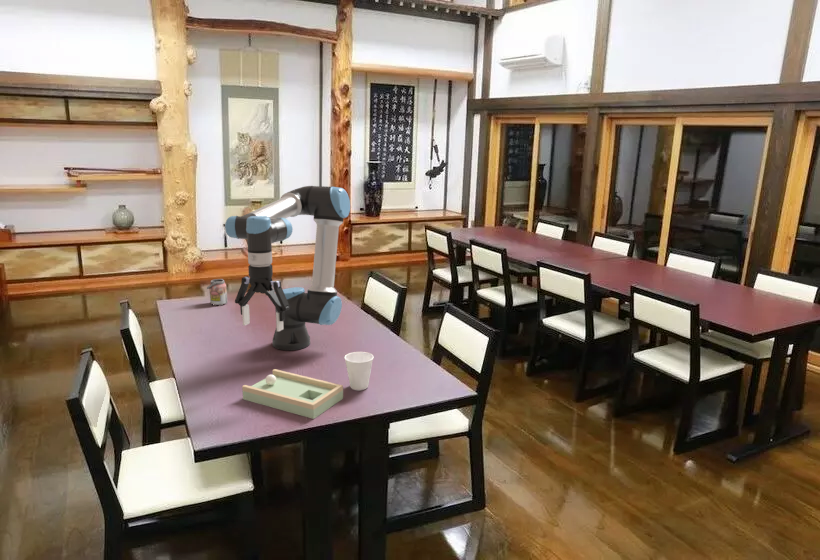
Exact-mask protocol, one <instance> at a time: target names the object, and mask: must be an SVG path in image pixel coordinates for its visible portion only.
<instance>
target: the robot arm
mask: <svg viewBox="0 0 820 560" xmlns="http://www.w3.org/2000/svg"><path fill="white" fill-rule="evenodd" d="M350 200H351V199H350V196H349V194H348V192H347V191H346V189H344V188H343V187H337V186H323V185H321V186H319V185H305V186H302V187H299V188H294V189H292V190H290V191H287V192H286V193H284V194H282V195H281V196H280V198H279V199H276V200H274V201H273V202H270V203H268V204H266V205H263V206H261V207H259V208H258V209H255V210H252V211H251V212H248V213H247V214H243V215H242V216H241V215H240V216H238V215H231V216H228V218H227V219H226V221H225V224H224V229H225V233H226V235H227V236H228V237H229V238H232V239H237V240H241V239H242V240H246V242H247V244H246V245H247V261H248V262H247V263H248V269H247V270H248V275H247V276H243V277H241V284H240V286H239V289H238V291H237V294H236V297H235V300H234V303H235V304H238V305H239V306H240V307H239V308H240V315H241V316H242V317H241V318H242V326H245V327H246V326H247V325H249V324H250V323H251V322H250V321H251V319H250V317H251V316H250V304H248V303H249V301H251V298H253V296H254V294H255V293H257V294H259V293H260V294H265V296H267V297H268V298H269V300H270V302H271V303H272V304H273V306H274V309H275V326H276V327H275V330H274V333H273V337H272V348H275V349H277V350H281V351H297V350H301V349H305V348H307V347H309V346H310V345H311V336H310V335H309V332H308V331H309V330H308V329H307V326H306V323H308V324H314V325H315V324H316V325H321V326H323V325H324V326H332V325H333V324H335V323H336V322H337V320H338V319H339V317H340V315H341V312H342V307H343V302H342V298H341V297H340V296H339V295H338V290H337V289H336V287H334V286H335V279H336V278H335V277H336V264H337V252H338V241H339V229H340V226H341V225H342V224H344V219H346V218H348V217H349V215H350V213H351V212H350V211H351V201H350ZM297 216H313V221H314V222H315V224H316V233H315V244H314V245H315V246H314V255H313V256H314V257H313V269H312V281H311V285H310V286H309V287H308V288H307V292H306V290H305V288H304V287H299V286H298V287H295V286H294V287H287V288H282V281H281V280H274V281H273V279H272V278H273V265H272V263H273V252H272V250H273V249H272V248H273V247H272V246H273V245H272V244H275V243H278V242H283V241H284V240H286V239H289V238H290V237H291V236H292V234H293V230H294V229H293V225H292V223H291V221H290V220H289V219H288V218H290V217H291V218H295V217H297ZM249 285H250V287H249Z"/></svg>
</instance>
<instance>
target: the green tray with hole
mask: <svg viewBox="0 0 820 560" xmlns="http://www.w3.org/2000/svg"><path fill="white" fill-rule="evenodd" d="M272 375H274V376H275V377H276V382H275V384H273V385H268V384H267V383H266V381H265V379H266V377H265V378H264V379H261V380H260V381H258V382H256V383H254V384H252V385H247V384H244V385H242V399H243V400H244V401H248V402H250V403H255V404H258V405H262V406H265V407H269V408H273V409H277V410H280V411H284V412H287V413H291V414H295V415H299V416H301V417H306V418H309V419H316V418H318V417H319V416H320V415H322V414H323V413H324V412H326V411H327V410H329V409H330V408H332V407H333V406H335V405H336V404H337V403H339V402H341V401H342V400H343V399H344V385H343V384H338V383H334V382H330V381H327V380H322V379H318V378H314V377H310V376H306V375H301V374H297V373H293V372H289V371H285V370H280V369H276V368H274V369H272Z"/></svg>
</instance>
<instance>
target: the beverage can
mask: <svg viewBox="0 0 820 560" xmlns="http://www.w3.org/2000/svg"><path fill="white" fill-rule="evenodd" d="M206 290H208V291H209V301H210V304H211V305H212V304H214V305H221V306H224V305H223V304H225V305H226V304H228V291H227V284H226V282H225V280H224V279H223V278H217V279H212V280H210V284H209V285H208V286H207V287H206ZM214 305H213V306H214Z"/></svg>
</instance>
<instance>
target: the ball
mask: <svg viewBox="0 0 820 560" xmlns="http://www.w3.org/2000/svg"><path fill="white" fill-rule="evenodd" d="M265 378H266V379H265ZM265 378H264V379H265V381H266V383H267V384H268V385H273V384H275V382H276V377H275V376H274V375H273V373H272V374H268V375H266V377H265Z"/></svg>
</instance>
